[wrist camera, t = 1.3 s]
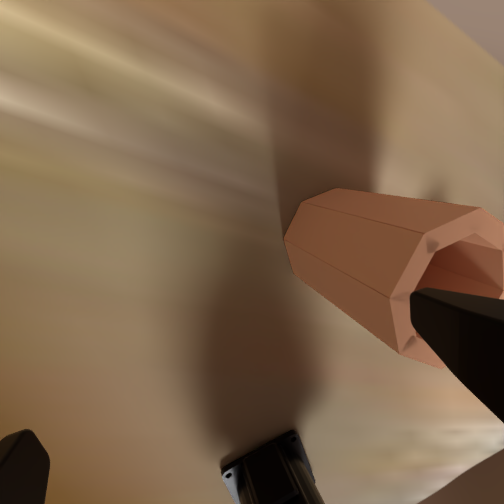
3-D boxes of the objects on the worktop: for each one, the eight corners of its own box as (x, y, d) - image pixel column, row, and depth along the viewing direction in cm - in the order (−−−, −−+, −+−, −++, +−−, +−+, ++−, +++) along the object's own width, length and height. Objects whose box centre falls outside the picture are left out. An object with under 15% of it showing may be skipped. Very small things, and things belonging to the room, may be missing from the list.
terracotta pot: (376, 261, 24) (520, 324, 15) (300, 296, 23) (405, 389, 13) (360, 178, 22) (518, 190, 12) (275, 212, 20) (381, 253, 11)
